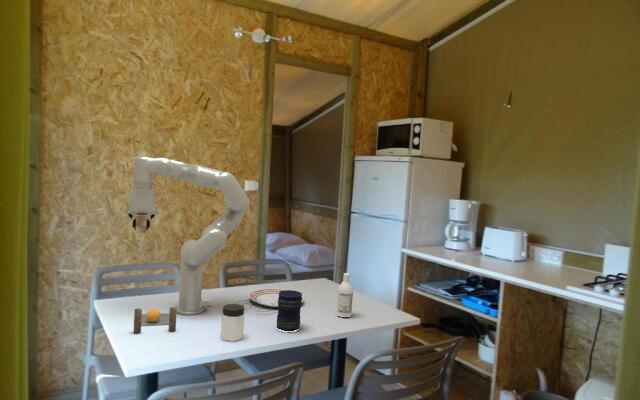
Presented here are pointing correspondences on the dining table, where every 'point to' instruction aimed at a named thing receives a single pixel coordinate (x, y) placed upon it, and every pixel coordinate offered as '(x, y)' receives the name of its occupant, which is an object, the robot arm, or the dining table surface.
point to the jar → (232, 322)
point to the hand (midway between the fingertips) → (141, 228)
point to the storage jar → (289, 310)
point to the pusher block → (141, 222)
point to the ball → (153, 315)
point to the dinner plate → (265, 292)
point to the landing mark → (162, 321)
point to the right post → (172, 319)
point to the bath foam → (345, 297)
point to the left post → (137, 320)
